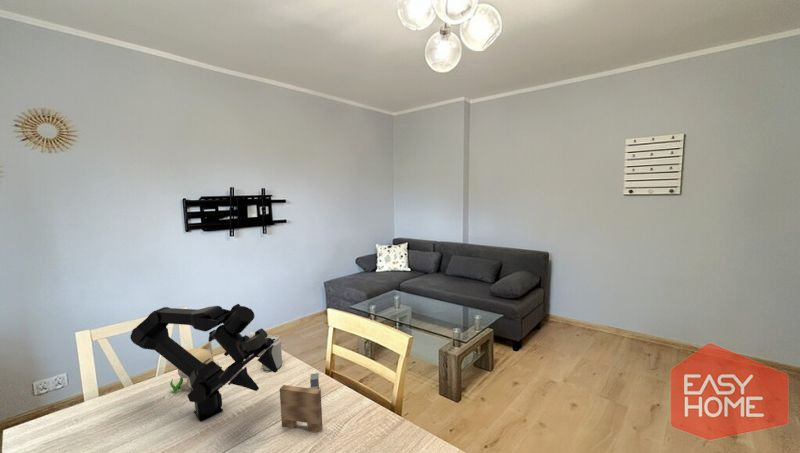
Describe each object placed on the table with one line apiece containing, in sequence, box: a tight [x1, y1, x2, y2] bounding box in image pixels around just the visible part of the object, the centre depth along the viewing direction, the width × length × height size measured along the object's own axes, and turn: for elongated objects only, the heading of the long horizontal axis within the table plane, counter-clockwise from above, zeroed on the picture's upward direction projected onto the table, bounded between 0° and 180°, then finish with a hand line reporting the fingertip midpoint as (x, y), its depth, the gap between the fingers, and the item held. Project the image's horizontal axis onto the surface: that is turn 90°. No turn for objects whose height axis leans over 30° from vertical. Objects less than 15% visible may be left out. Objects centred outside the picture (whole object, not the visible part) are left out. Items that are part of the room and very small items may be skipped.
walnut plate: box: [279, 384, 323, 433], centre depth 96 cm, size 12×2×12 cm, turn 78°
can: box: [261, 334, 283, 372], centre depth 128 cm, size 8×8×12 cm
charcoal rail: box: [309, 372, 320, 390], centre depth 108 cm, size 14×2×5 cm, turn 12°
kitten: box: [169, 341, 220, 393], centre depth 117 cm, size 15×10×15 cm
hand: (267, 380), depth 97 cm, fingers open, 9 cm apart
